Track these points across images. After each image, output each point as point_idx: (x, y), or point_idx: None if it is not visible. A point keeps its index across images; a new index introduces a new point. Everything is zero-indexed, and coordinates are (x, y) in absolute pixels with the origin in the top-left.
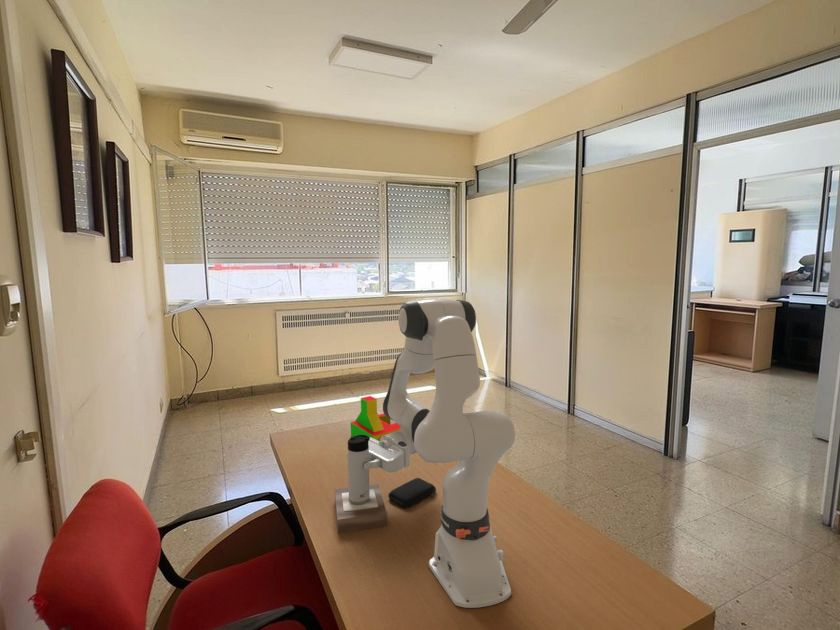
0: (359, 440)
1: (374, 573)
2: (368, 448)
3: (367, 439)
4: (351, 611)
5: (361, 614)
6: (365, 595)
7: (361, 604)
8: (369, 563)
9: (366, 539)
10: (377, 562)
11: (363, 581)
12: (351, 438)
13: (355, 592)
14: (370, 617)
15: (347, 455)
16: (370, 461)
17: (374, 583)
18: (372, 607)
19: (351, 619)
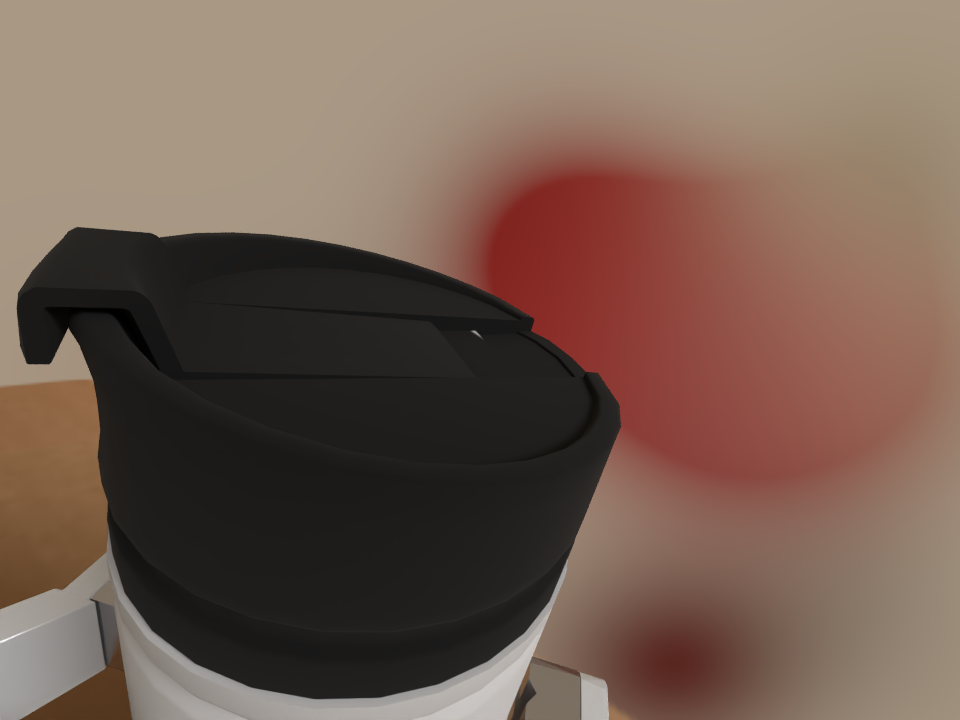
0: (338, 328)
1: (25, 508)
2: (107, 539)
3: (79, 239)
4: (95, 396)
5: (57, 394)
6: (54, 435)
7: (64, 413)
8: (62, 543)
9: (121, 679)
10: (14, 560)
11: (75, 471)
12: (573, 380)
13: (99, 436)
14: (22, 393)
15: (584, 675)
16: (62, 615)
17: (19, 474)
18: (18, 413)
19: (88, 382)
